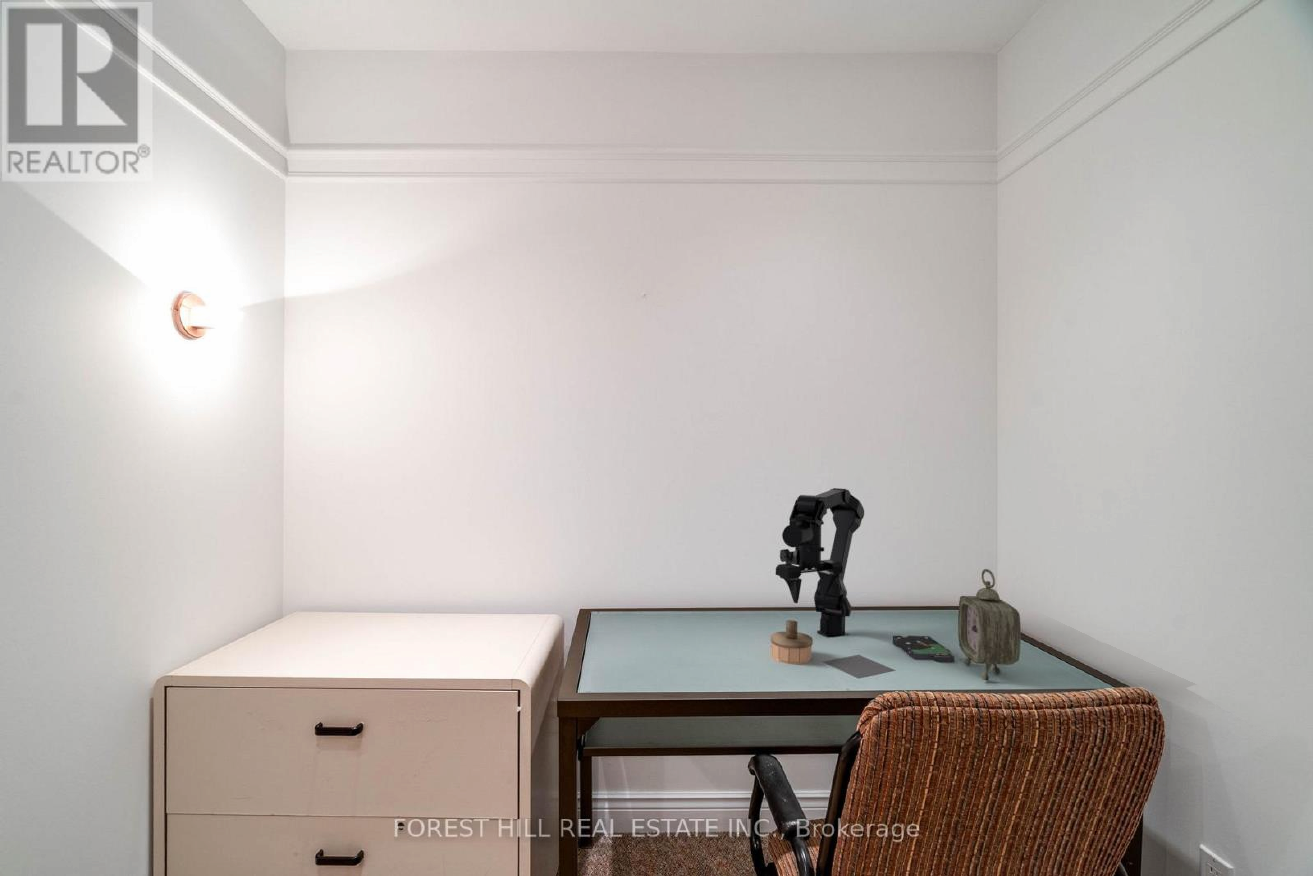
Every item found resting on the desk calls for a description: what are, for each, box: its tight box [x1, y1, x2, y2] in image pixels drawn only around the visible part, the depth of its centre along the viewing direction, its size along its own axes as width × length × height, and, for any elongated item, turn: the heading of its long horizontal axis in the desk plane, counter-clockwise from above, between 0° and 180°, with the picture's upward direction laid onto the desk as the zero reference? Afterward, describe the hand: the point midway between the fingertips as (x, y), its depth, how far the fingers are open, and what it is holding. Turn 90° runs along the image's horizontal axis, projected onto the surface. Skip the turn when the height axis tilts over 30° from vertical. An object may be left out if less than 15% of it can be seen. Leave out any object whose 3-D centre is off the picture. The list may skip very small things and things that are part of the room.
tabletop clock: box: [957, 568, 1022, 682], centre depth 154 cm, size 14×9×25 cm, turn 174°
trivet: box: [822, 654, 896, 679], centre depth 156 cm, size 12×12×1 cm
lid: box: [770, 619, 814, 648], centre depth 162 cm, size 10×10×5 cm
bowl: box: [770, 641, 813, 665], centre depth 162 cm, size 10×10×4 cm
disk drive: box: [892, 635, 955, 664], centre depth 168 cm, size 10×3×15 cm
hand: (809, 601), depth 171 cm, fingers open, 9 cm apart
